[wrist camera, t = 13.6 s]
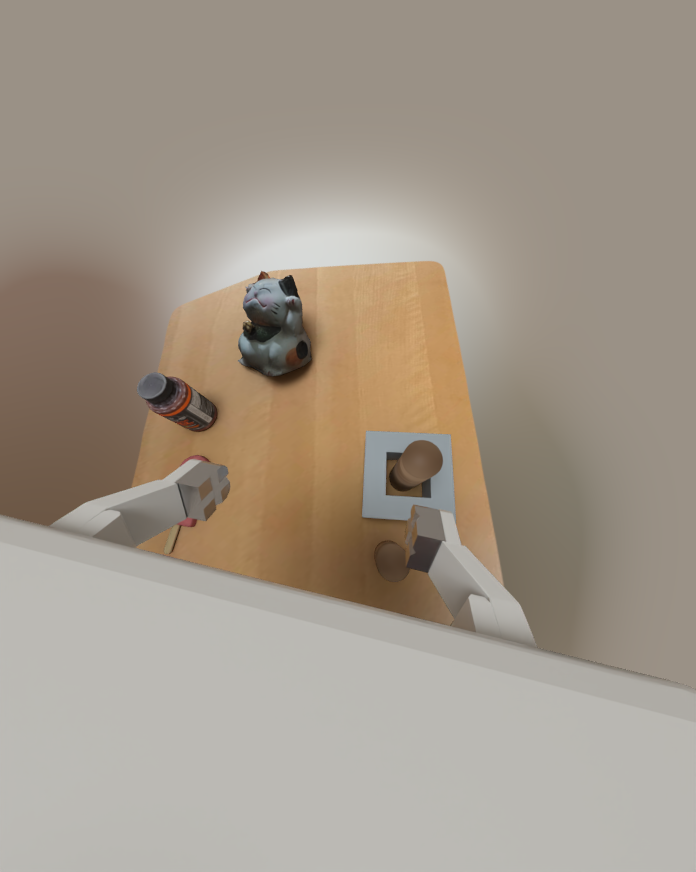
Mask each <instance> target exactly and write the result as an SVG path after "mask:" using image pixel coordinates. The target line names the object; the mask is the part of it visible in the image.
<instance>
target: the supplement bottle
mask: <svg viewBox="0 0 696 872" xmlns="http://www.w3.org/2000/svg"><path fill="white" fill-rule="evenodd" d="M137 392H138V394H139V395H140V396H141V397H142V398H144V399H145V400H146V403H147V405H148V407H149V408H150V409H151V410H152V411H153V412H155V413H157V414H159V415H161V416H163V417H165V418H167V419H169V420H171V421H173V422H175V423H177V424H179V425H181V426H183V427H185V428H187V429H189V430H192V431H203V430H205V429H207V428H209V427H210V426H211V425H212V424H213V423H214V421H215V419H216V416H217V411H216V408H215V406H214V405H213V404H212V403H211V402H210V401H209V400H207V399H206V398H205V397H204V396H202V395H201V394H200V393H198V392H197V391H196V390H194V389H193V388H192V387H190V386H189V385H188V384H186V383H185V382H184V381H182V380H181V379H179V378H176V377H165V376H164V375H162V374H160V373H150V374H148V375H146V376H144V377H143V378H142V379H141V380H140V382H139V383H138V387H137Z"/></svg>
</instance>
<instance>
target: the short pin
mask: <svg viewBox="0 0 696 872" xmlns="http://www.w3.org/2000/svg"><path fill="white" fill-rule="evenodd" d="M374 557H375V561H376V565H377V568H378V571H379V573H380V574H381V576H382V577H383V578H385V579H386V580H388V581H391V582H398V581H401V580H403V579H404V578H405V577H406V576H407V575H408V573H409V570H410V568H407V567H406V557H405V551H404V550H403V549H402V548H401V547H400V546H398V545H397V544H396V543H394V542H392V541H383V542H381V543H380V544H379V545H378V546H377V547H376V549H375V554H374Z"/></svg>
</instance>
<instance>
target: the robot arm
mask: <svg viewBox="0 0 696 872" xmlns="http://www.w3.org/2000/svg"><path fill="white" fill-rule="evenodd" d="M227 475H228V469H227V467H226V466H224V465H220V464H215V463H211V462H207V461H201V460H197V459H190V460H189V461H187V462H186V463H184V464H183V465H182V466H180V467H179V468H178V469H176V470H175V471H174V472H172V473H171V474H170V475H168V476H167V477H166V478H164V479H163V480H156V481H153V482H150V483H146V484H143V485H140V486H137V487H134V488H131V489H127V490H124V491H121V492H118V493H115V494H112V495H108V496H105V497H102V498H99V499H96V500H93V501H89V502H86V503H84V504H83V505H81V506H80V507H78V508H76V509H75V510H74V511H72V512H70V513H69V514H67V515H66V516H64V517H62V518H61V519H59V520H58V521H56V522H55V523H53V524H52V525H50V526H44V525H40V524H36V523H32V522H28V521H24V520H20V519H16V518H12V517H8V516H4V515H0V872H696V689H694V688H692V687H690V686H687V685H684V684H680V683H677V682H673V681H670V680H666V679H662V678H658V677H654V676H650V675H646V674H642V673H638V672H634V671H630V670H626V669H622V668H617V667H613V666H609V665H605V664H601V663H597V662H593V661H589V660H585V659H581V658H577V657H573V656H569V655H565V654H561V653H556V652H553V651H548V650H544V649H541V648H538V647H537V645H536V642H535V640H534V637H533V635H532V633H531V630H530V628H529V625H528V623H527V620H526V618H525V615H524V613H523V611H522V608H521V606H520V604H519V603H518V602H517V601H516V600H515V599H514V598H513V597H512V596H511V594H510V593H509V592H508V591H507V590H506V589H505V588H504V587H503V586H502V585H501V584H500V583H499V581H498V580H497V579H496V578H495V577H494V576H493V575H492V574H491V573H490V572H489V571H488V570H487V569H486V568H485V567H484V565H483V564H482V563H481V562H480V561H479V560H478V559H477V558H476V557H475V556H474V555H473V554H472V553H471V552H470V551H469V549H468V548H467V547H466V546H462V545H461V542H460V538H459V534H458V531H457V527H456V523H455V520H454V516H453V513H452V512H451V511H446V510H441V509H434V508H429V507H424V506H419V505H414V504H413V506H412V508H411V511H410V512H411V518H409V519H408V521H407V524H406V529H405V543H406V544H407V548H406V551H405V557H406V567H407V568H411V569H415V570H419V571H423V572H427V573H428V575H429V577H430V579H431V580H432V582H433V584H434V585H435V587H436V589H437V590H438V592H439V594H440V595H441V597H442V599H443V601H444V602H445V604H446V606H447V607H448V609H449V611H450V612H451V614H452V616H453V617H454V621H453V622H452V624H451V626H448V625H444V624H440V623H436V622H432V621H428V620H424V619H420V618H416V617H412V616H408V615H404V614H399V613H395V612H391V611H387V610H383V609H379V608H375V607H371V606H367V605H363V604H359V603H355V602H351V601H347V600H343V599H339V598H335V597H331V596H327V595H323V594H319V593H314V592H310V591H306V590H302V589H298V588H294V587H290V586H286V585H282V584H278V583H274V582H270V581H266V580H262V579H258V578H254V577H250V576H246V575H242V574H238V573H234V572H230V571H226V570H222V569H218V568H214V567H210V566H206V565H202V564H198V563H194V562H190V561H186V560H182V559H177V558H173V557H169V556H165V555H161V554H157V553H153V552H149V551H145V550H141V549H137V547H136V546H138V545H139V544H141V543H143V542H145V541H147V540H149V539H150V538H152V537H154V536H156V535H158V534H159V533H161V532H163V531H165V530H167V529H169V528H170V527H172V526H174V525H176V524H178V523H179V522H181V521H183V520H185V519H187V518H192V519H197V520H202V521H207V520H208V518H209V517H210V516H211V515H212V514H213V513H214V512H215V510H216V505H218V504H220V503H222V502H223V501H224V500H225V499H226V498H227V496H228V493H229V491H230V481H229V480H228V479H227V478H226V476H227Z"/></svg>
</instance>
